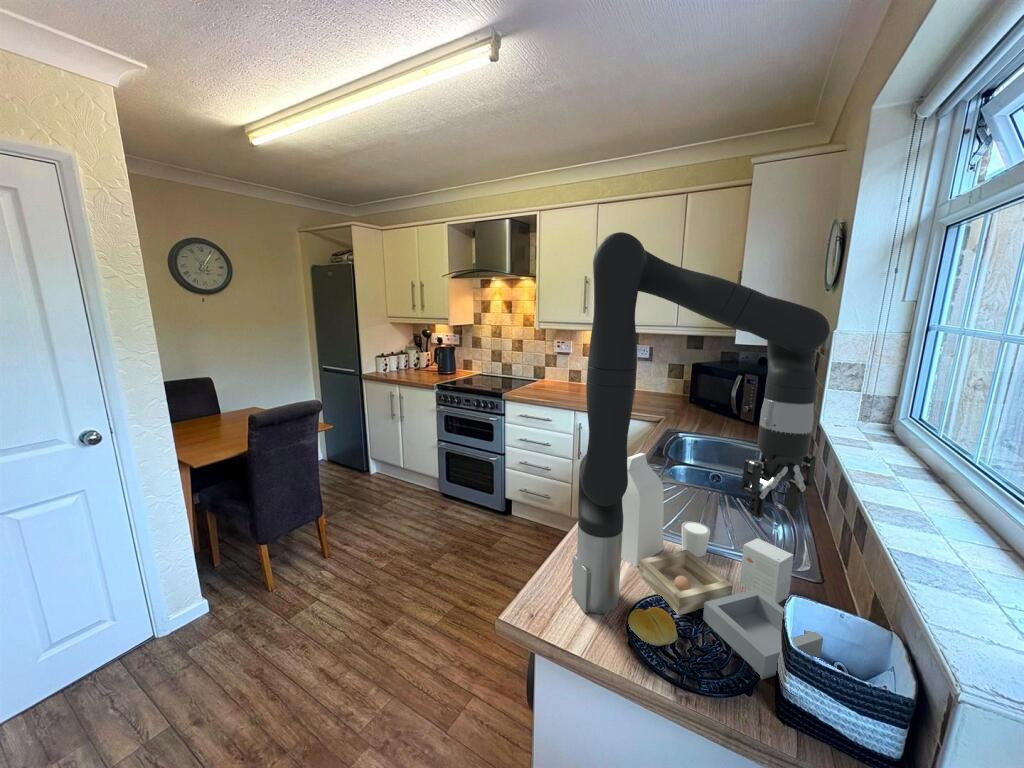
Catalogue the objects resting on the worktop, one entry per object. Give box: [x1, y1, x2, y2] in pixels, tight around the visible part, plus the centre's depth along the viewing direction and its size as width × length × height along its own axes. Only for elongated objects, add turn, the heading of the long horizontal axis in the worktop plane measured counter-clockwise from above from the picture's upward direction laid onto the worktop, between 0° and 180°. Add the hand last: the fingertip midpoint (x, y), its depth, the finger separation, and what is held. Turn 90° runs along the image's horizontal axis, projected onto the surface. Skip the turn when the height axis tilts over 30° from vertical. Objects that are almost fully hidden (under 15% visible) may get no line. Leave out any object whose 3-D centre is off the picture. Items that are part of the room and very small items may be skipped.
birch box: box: [637, 550, 733, 616], centre depth 90 cm, size 14×14×4 cm
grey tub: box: [702, 589, 824, 680], centre depth 76 cm, size 14×14×4 cm
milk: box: [621, 452, 665, 568], centre depth 104 cm, size 12×12×26 cm
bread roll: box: [627, 606, 678, 647], centre depth 78 cm, size 8×9×4 cm
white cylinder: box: [681, 521, 711, 558], centre depth 104 cm, size 7×7×7 cm
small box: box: [739, 537, 794, 605], centre depth 89 cm, size 8×6×10 cm
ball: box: [674, 576, 691, 591], centre depth 89 cm, size 3×3×3 cm
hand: (774, 512), depth 72 cm, fingers open, 8 cm apart
